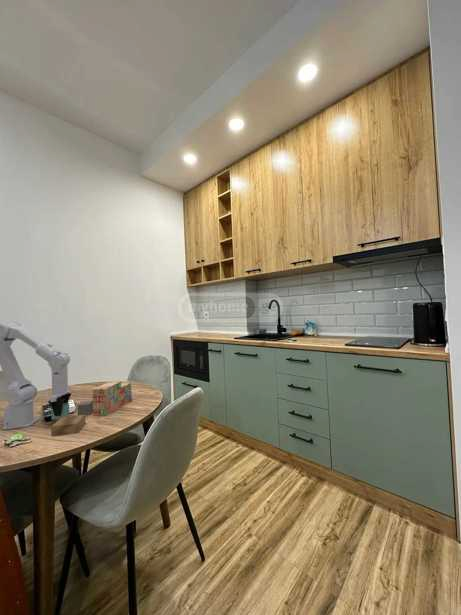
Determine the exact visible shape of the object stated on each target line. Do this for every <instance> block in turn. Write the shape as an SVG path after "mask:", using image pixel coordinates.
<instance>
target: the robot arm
mask: <svg viewBox="0 0 461 615" xmlns="http://www.w3.org/2000/svg"><path fill="white" fill-rule="evenodd" d="M17 339H18V340H20V341H22V342H24V343H25V344H27V345H29V346H30V347H32V348H33V349H35V354H36V355H37V356H38V357H41V358H42V359H44V360H45V361H46V362H47V364H48V366H49V367H50V371H51V395H50V397H49V400H48V401H47V402H48V405H50V408H52V409H53V412H54V415H55V416H60V415H61V413H62V406H63V403H69V400H70V398H71V396H72V390H70V387H69V380H68V379H69V378H68V377H69V376H68V374H69V373H68V372H69V371H68V364H70V361H71V357H70V356H69V355H68V353H67V352H62V351H61V350H58V349H56V348H55V347H54V346H53V344H52V343H48V342H42V341H40V340H39V338H37V337H36V336H34V335H33V333H31V332H29V330H28V329H27V328H26V327H25V326H24V325H22V324H21V323H19V322H11V323H10V322H9V323H3V322H1V323H0V368H1V370H2V372H3V374H4V375H3V376H5V379H6V382H7V383H8V386H7V389H6V391H5V392H6V394H7V397H6V401H7V403H9V404H8V405H7V406H5V408H4V412H3V428H2V430H3V429H4V430H11V429H12V430H13V429H20V428H26V427H28V428H29V427H30V426H32V425H33V424H34V423H36V422H37V421H38V420H39V417H36V418H35V408H34V407H35V406H34V405H35V404H34V403H35V402H34V401H35V397H36V396H37V394H38V388H37V387H36V386H35V385H34V384H33V383H32V381H31V380H29V379H26V377H25V375H24V374H23V372H22V369H21V367H20V364H19V362H18V361H17V358H16V356H15V354H14V351H13V350H12V347H11V345H12V344H13V343H14V342H15V341H16V340H17Z"/></svg>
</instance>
